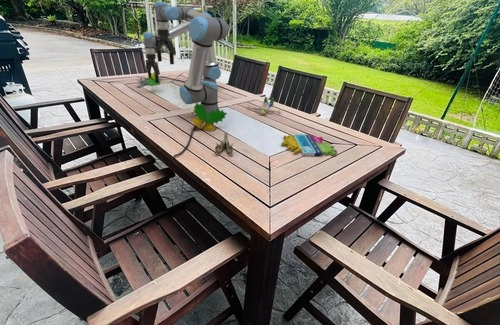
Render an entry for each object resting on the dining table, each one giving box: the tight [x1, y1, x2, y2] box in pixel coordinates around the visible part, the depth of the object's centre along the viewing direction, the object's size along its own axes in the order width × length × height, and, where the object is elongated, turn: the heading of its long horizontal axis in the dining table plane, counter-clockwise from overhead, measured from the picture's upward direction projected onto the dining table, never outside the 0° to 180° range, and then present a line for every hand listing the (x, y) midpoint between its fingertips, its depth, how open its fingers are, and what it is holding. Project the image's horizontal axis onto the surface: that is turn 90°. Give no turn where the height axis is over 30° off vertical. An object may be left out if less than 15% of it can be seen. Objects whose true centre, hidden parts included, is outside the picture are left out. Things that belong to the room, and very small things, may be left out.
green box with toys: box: [145, 71, 162, 87], centre depth 222 cm, size 11×9×11 cm
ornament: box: [191, 102, 228, 132], centre depth 162 cm, size 21×8×15 cm, turn 105°
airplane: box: [135, 75, 167, 88], centre depth 254 cm, size 38×31×10 cm
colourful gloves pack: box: [280, 133, 338, 157], centre depth 150 cm, size 26×2×30 cm
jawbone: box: [214, 131, 234, 156], centre depth 136 cm, size 9×15×10 cm
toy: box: [246, 95, 283, 116], centre depth 203 cm, size 28×7×30 cm
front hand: (165, 62), depth 184 cm, fingers open, 13 cm apart
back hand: (154, 81), depth 224 cm, fingers closed on green box with toys, 9 cm apart
